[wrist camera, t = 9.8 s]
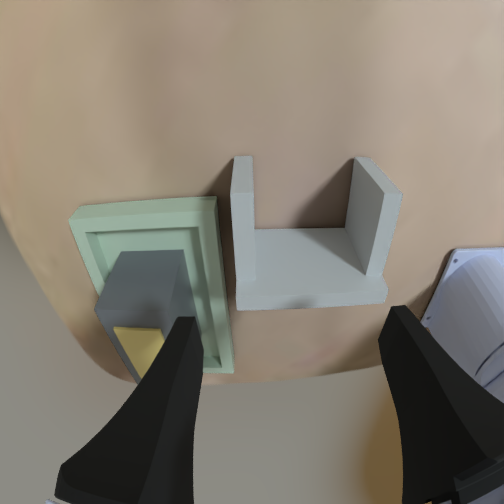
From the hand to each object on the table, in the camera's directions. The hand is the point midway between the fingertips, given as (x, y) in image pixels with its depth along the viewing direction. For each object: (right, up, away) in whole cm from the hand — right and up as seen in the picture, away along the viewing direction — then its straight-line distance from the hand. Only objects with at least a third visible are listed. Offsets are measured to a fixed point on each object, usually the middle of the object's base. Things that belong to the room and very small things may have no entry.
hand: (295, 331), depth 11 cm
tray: (-8, -1, +13) cm, 15 cm away
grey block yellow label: (-8, -1, +12) cm, 15 cm away
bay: (+2, +6, +8) cm, 10 cm away
